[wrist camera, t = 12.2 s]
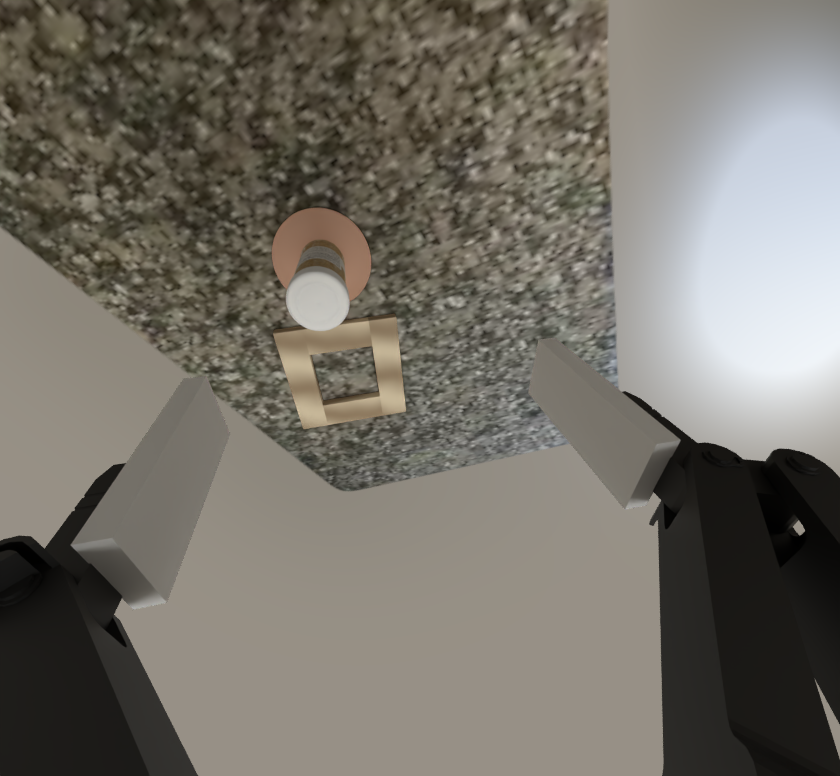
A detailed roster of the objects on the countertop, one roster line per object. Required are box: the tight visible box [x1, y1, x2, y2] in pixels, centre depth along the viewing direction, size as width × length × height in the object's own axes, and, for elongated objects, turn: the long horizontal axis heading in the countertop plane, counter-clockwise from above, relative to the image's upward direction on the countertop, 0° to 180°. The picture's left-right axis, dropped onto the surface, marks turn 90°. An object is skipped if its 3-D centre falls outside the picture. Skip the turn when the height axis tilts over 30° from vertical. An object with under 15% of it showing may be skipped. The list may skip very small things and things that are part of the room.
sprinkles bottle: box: [286, 240, 350, 331], centre depth 31 cm, size 5×5×13 cm
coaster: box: [272, 207, 371, 301], centre depth 37 cm, size 10×10×1 cm
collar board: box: [273, 314, 406, 429], centre depth 44 cm, size 14×14×1 cm
